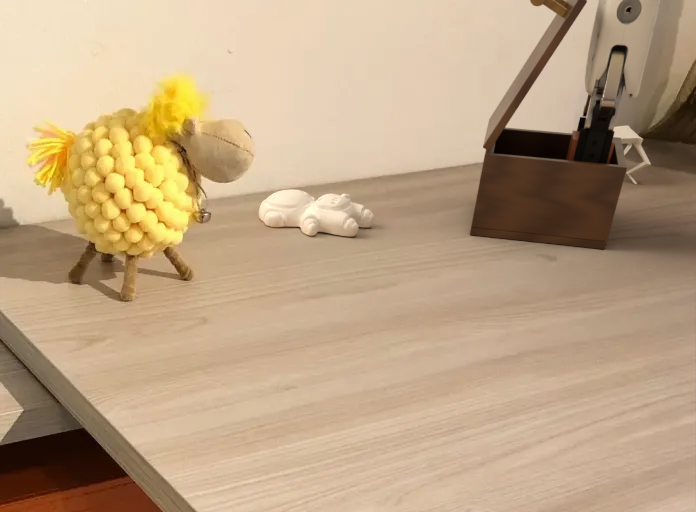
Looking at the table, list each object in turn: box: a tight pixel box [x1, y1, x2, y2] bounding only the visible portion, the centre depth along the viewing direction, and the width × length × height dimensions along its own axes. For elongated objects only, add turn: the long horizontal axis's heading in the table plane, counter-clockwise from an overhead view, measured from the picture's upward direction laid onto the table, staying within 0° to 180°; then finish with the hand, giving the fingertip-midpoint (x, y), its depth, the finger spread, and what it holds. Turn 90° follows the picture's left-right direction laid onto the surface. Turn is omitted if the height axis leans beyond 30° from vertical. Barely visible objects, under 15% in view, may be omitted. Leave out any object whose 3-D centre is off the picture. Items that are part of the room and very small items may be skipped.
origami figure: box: [613, 125, 652, 185], centre depth 126 cm, size 12×8×5 cm
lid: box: [482, 0, 588, 151], centre depth 102 cm, size 14×13×5 cm
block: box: [566, 130, 614, 164], centre depth 106 cm, size 4×4×4 cm
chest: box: [469, 127, 628, 250], centre depth 109 cm, size 14×13×8 cm
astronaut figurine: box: [258, 189, 375, 238], centre depth 109 cm, size 9×12×3 cm
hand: (586, 164), depth 106 cm, fingers open, 4 cm apart
